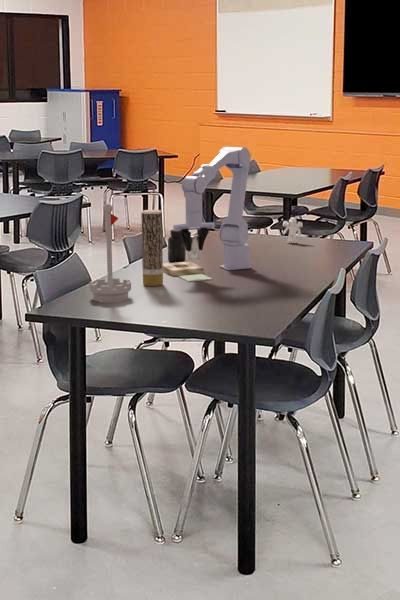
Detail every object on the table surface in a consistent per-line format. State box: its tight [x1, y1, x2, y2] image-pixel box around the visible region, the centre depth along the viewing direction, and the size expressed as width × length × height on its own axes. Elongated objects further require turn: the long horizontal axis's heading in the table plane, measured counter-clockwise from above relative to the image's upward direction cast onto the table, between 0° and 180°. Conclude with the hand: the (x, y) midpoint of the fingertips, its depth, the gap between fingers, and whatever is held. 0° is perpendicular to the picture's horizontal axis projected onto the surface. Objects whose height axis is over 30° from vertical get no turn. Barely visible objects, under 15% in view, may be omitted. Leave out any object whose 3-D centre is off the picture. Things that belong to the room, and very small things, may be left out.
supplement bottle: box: [167, 229, 187, 263], centre depth 344 cm, size 7×7×12 cm
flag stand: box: [89, 203, 132, 303], centre depth 280 cm, size 13×13×30 cm
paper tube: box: [140, 209, 164, 287], centre depth 300 cm, size 7×7×25 cm
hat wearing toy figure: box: [282, 214, 303, 242], centre depth 383 cm, size 9×4×12 cm, turn 63°
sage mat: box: [178, 273, 213, 283], centre depth 312 cm, size 9×9×1 cm
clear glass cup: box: [187, 235, 201, 261], centre depth 311 cm, size 4×4×8 cm
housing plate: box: [163, 261, 205, 277], centre depth 325 cm, size 12×14×2 cm
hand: (194, 250), depth 311 cm, fingers closed on clear glass cup, 4 cm apart
